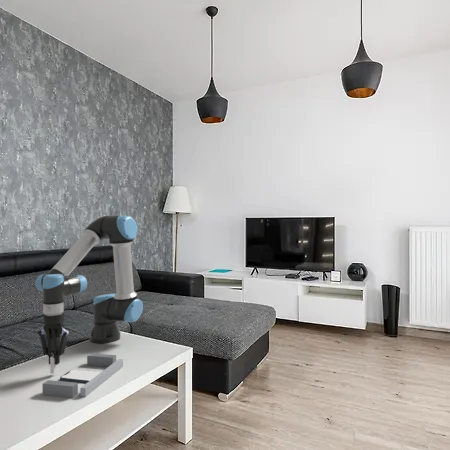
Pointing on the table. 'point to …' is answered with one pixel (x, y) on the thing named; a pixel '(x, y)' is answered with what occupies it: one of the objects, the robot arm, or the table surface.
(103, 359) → the grey u-shaped piece
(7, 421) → the table surface
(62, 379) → the smartphone
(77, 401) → the table surface
